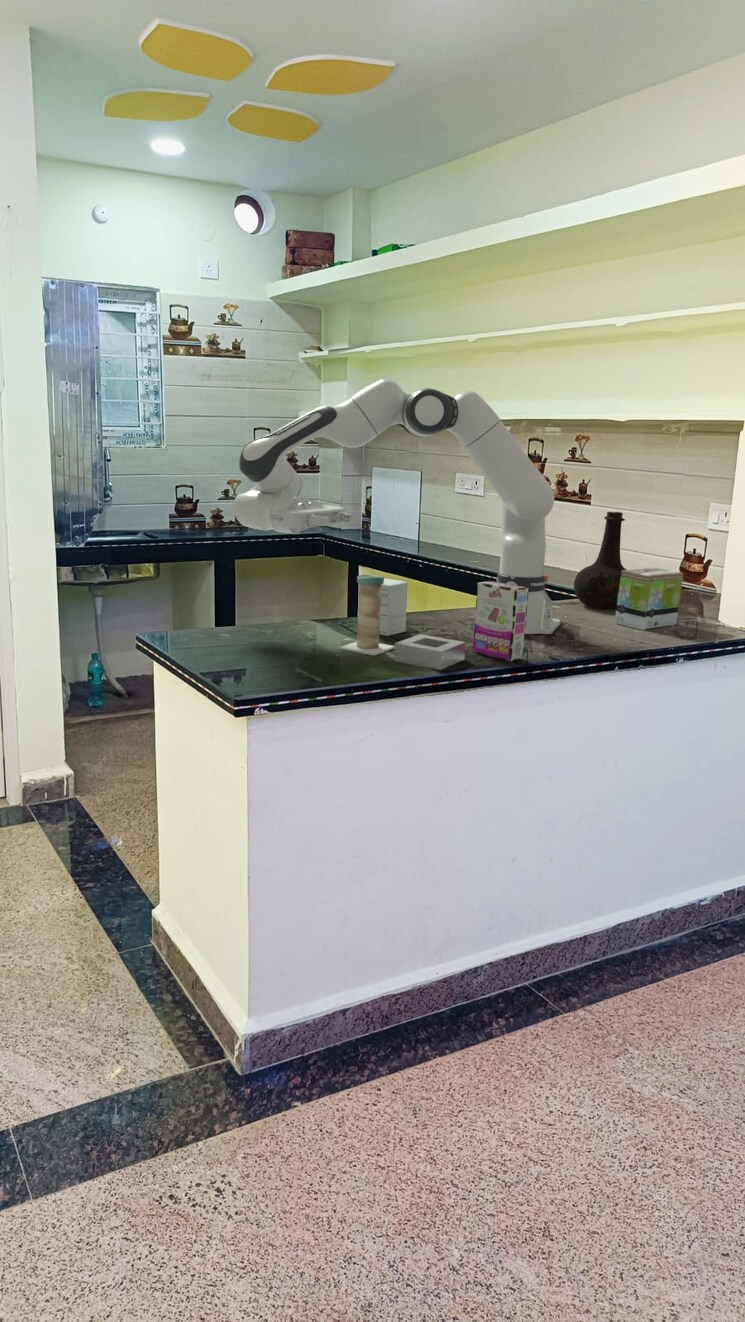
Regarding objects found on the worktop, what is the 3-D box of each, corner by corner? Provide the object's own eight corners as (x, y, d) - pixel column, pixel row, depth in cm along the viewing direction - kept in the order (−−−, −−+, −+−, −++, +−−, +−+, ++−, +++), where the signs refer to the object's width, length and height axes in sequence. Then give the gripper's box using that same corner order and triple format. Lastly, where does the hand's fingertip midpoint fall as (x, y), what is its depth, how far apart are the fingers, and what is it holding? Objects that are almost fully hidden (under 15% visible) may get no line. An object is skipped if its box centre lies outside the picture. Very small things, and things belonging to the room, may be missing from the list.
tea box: (645, 631, 242) (651, 575, 238) (613, 623, 249) (619, 569, 245) (677, 625, 251) (684, 571, 247) (646, 618, 259) (652, 566, 255)
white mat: (361, 642, 216) (361, 640, 216) (394, 648, 212) (394, 646, 211) (340, 649, 209) (340, 647, 208) (374, 655, 204) (374, 653, 204)
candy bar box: (524, 659, 207) (530, 587, 203) (510, 662, 203) (516, 589, 199) (485, 649, 214) (490, 579, 210) (471, 652, 211) (476, 581, 207)
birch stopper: (363, 642, 214) (366, 573, 210) (385, 646, 211) (389, 577, 207) (349, 646, 209) (352, 577, 205) (372, 651, 206) (375, 580, 202)
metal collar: (419, 651, 210) (420, 634, 209) (464, 659, 204) (465, 642, 203) (393, 661, 200) (394, 643, 199) (440, 670, 195) (441, 651, 194)
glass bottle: (560, 605, 272) (569, 509, 265) (595, 599, 284) (604, 507, 277) (611, 615, 260) (622, 515, 253) (646, 609, 271) (657, 513, 264)
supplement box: (383, 627, 233) (385, 577, 230) (406, 632, 229) (408, 581, 225) (364, 631, 227) (366, 580, 224) (387, 636, 223) (390, 585, 220)
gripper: (265, 503, 209) (315, 508, 202) (316, 499, 226) (364, 503, 219) (264, 531, 211) (314, 537, 204) (316, 525, 228) (363, 530, 221)
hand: (340, 520), depth 212 cm, fingers open, 8 cm apart
